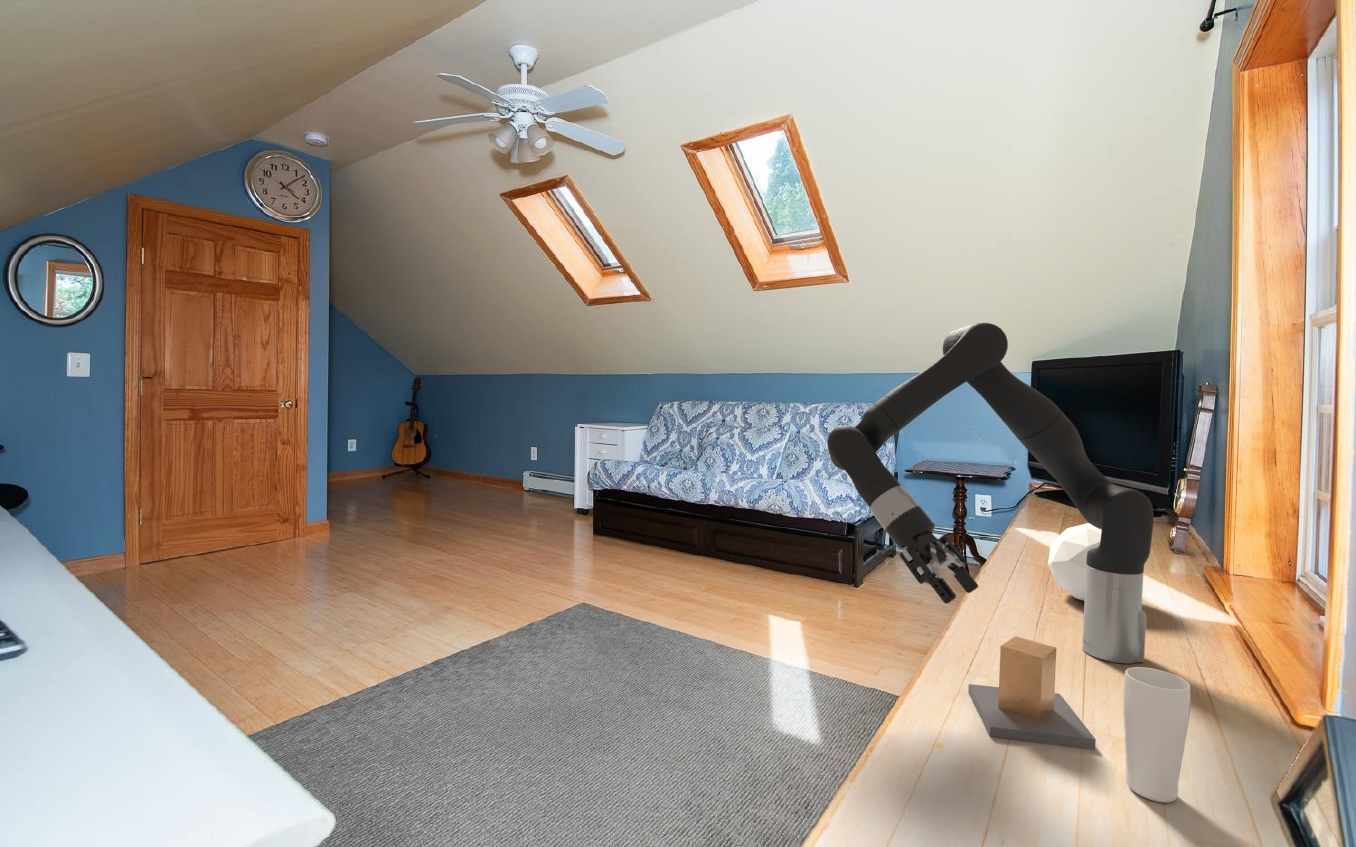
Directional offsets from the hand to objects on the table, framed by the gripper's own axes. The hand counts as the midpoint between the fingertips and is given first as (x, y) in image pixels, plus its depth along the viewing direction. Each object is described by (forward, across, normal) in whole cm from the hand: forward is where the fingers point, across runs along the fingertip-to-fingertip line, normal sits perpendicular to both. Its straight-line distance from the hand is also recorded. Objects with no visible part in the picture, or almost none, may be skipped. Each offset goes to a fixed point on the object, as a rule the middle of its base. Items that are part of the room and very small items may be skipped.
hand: (963, 595), depth 105 cm
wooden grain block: (+18, 0, +4) cm, 19 cm away
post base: (+20, 0, +5) cm, 20 cm away
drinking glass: (+32, -7, -8) cm, 34 cm away
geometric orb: (+13, +74, +12) cm, 76 cm away
